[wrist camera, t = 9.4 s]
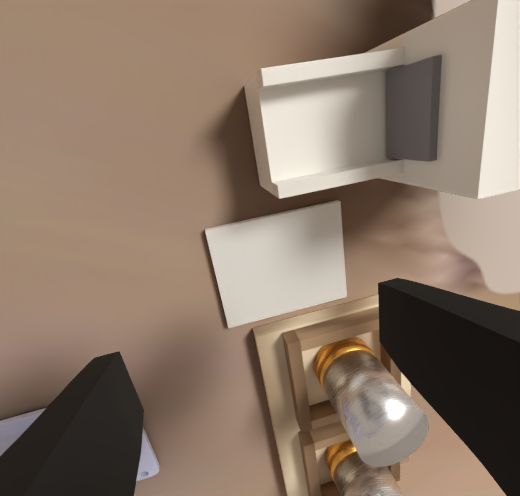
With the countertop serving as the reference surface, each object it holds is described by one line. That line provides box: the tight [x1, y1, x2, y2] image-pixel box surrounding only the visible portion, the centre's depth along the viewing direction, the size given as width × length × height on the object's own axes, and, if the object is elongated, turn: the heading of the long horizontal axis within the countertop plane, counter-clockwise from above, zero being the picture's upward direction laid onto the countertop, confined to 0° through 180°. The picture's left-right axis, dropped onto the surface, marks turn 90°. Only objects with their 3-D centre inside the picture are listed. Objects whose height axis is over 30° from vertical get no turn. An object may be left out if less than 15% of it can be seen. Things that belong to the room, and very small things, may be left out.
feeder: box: [244, 0, 520, 199], centre depth 13 cm, size 11×6×8 cm, turn 99°
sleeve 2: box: [324, 439, 404, 496], centre depth 22 cm, size 4×4×6 cm
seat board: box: [253, 295, 411, 496], centre depth 23 cm, size 11×17×2 cm, turn 9°
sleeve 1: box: [313, 336, 429, 467], centre depth 18 cm, size 4×4×6 cm
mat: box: [205, 200, 347, 328], centre depth 19 cm, size 8×6×1 cm
